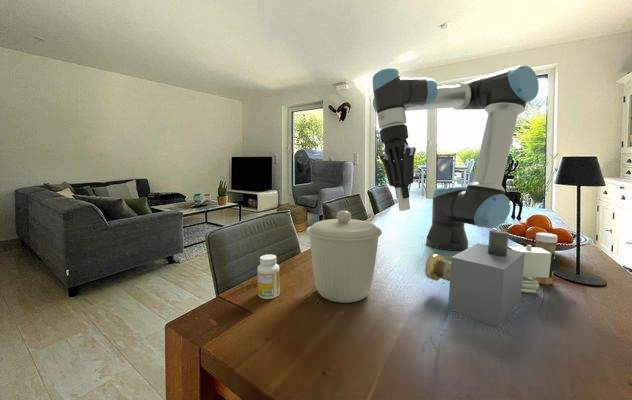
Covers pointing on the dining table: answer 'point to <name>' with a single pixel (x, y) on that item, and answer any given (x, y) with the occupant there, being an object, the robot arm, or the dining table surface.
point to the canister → (343, 257)
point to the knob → (437, 267)
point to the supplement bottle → (268, 277)
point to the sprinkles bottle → (549, 244)
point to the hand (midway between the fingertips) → (404, 209)
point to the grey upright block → (498, 243)
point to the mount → (486, 283)
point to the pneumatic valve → (536, 266)
